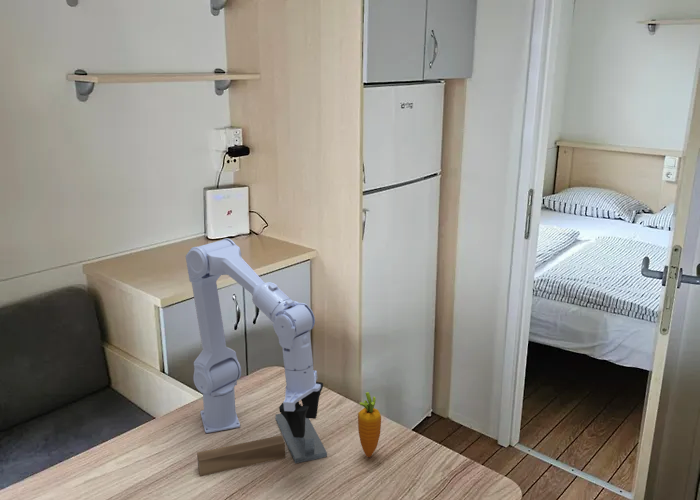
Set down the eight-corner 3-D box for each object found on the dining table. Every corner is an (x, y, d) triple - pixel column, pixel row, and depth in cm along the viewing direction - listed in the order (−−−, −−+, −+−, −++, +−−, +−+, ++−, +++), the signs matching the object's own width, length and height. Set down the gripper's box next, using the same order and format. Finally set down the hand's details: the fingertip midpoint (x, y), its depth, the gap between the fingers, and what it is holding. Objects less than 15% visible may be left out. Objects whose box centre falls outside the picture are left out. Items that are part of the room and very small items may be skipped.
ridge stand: (275, 418, 150) (275, 401, 149) (304, 413, 153) (303, 396, 151) (295, 463, 134) (294, 444, 133) (326, 456, 136) (326, 438, 135)
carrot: (378, 465, 134) (379, 402, 129) (355, 462, 135) (355, 400, 130) (381, 451, 138) (383, 390, 134) (359, 448, 139) (360, 388, 135)
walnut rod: (198, 468, 133) (197, 452, 131) (281, 450, 139) (281, 435, 138) (200, 477, 130) (199, 460, 129) (285, 458, 136) (285, 442, 135)
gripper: (305, 381, 118) (312, 447, 121) (328, 351, 132) (334, 411, 135) (270, 380, 120) (278, 444, 123) (296, 350, 134) (303, 409, 137)
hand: (305, 427), depth 129 cm, fingers open, 7 cm apart
